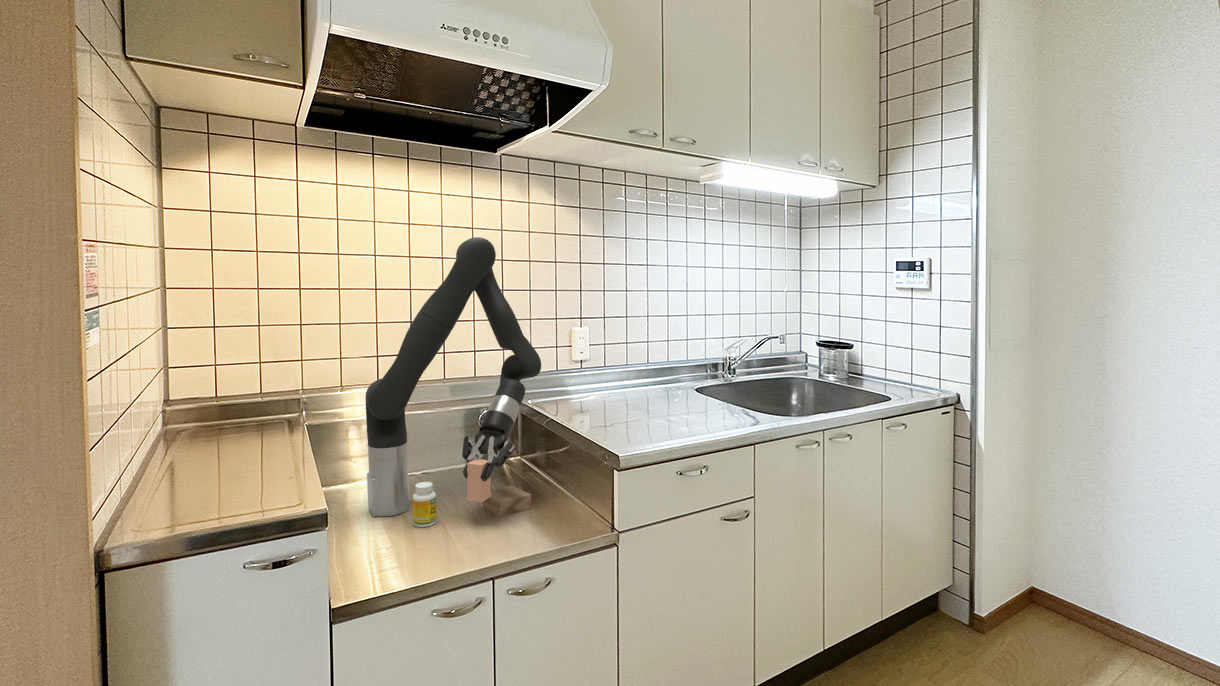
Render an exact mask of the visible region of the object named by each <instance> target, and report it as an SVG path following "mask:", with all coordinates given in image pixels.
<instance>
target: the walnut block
mask: <svg viewBox="0 0 1220 686" xmlns="http://www.w3.org/2000/svg"><path fill="white" fill-rule="evenodd" d="M482 507H483V508H484V509H486V510H488V511H490V512H491V513H493V514H494V515H496V516H497V517H499V518H503V517H506V516H507V517H508V516H510V515H513V514H517V513H520V512H525V511H528V510H531V509H532V494H531V493H529V492H527V491H525V490H523V489H521V488H519V487H518V486H516V485H514V484H511V485H507V486H504V487H500V488H496V489H491V497H489V498H488V499H486V500H485V501H483V502H482Z"/></svg>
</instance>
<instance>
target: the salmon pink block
mask: <svg viewBox="0 0 1220 686" xmlns="http://www.w3.org/2000/svg"><path fill="white" fill-rule="evenodd" d="M487 461H488V459H482V458H479V459H474V460H473V461H471V462H469V463H467V462H466V463H467V478H466V481H467V483H466V487H467V489H466V490H467V491H466V499H467V501H472V502H476V503H477V502H478V503H483V501H485V500H486V499H488V498H489V497H491V490H492V486H491V485H492V482H491V481H492V480H491V477H492V474H491V475H490V478H489V479H487V481H483V480H482V479H481V478H480V476H481V474H482V472H483V469H484V467H485V465H486V463H488V462H487Z"/></svg>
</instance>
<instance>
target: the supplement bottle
mask: <svg viewBox="0 0 1220 686" xmlns="http://www.w3.org/2000/svg"><path fill="white" fill-rule="evenodd" d="M433 489H434V485H433V482H431V481H422V482H421V481H420V482H417V483H416V484H415V485H414V490H415V492H414V494H413V495H412V517H413V520H412V522H413V525H414V526H415V527H417V528H428V527H432V526H433V525H435V524H436V523H437V494H436V492H435V491H434V490H433Z"/></svg>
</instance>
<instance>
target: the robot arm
mask: <svg viewBox="0 0 1220 686" xmlns="http://www.w3.org/2000/svg"><path fill="white" fill-rule="evenodd" d="M496 256H497V253H496V248H495V246H494V245H493V243H492V242H491V241H490V240H489V239H487V238H484V237H471V238H468V239H467V240H464V241H463V242H462V243H460V245H459V246H458V248H457V250H456V252H455V258H456V260H455V261H454V262H453V265H452V267H451V268H450V270H449V273H448V274H447V276H446V278H445V279H444V280H443V282H442V283H441V284H440V285H439V286H438V288H437V289H436V290H434V292H433V293H432V294H431V295H430V296H429V297H428V299H427V300H426V301H425V303H424V304H423V305H422V306H421V308H420V310H419V311H417V314H416V316H415V318H413V320H412V322H411V323H410V325H409V327H408V329H407V331H406V333H405V336H404V339H403V340H402V343H401V346H400V349H399V351H398V353H397V355H396V357H395V359H394V361H393V363H392V364H391V366H390V368H389V369H388V370H387V372H386V373H385V374H384V375H383V377H382V378H379V379H376V380H375V381H373V382H371V384H370V385H369V386H368V388H367V389H366V392H365V417H366V437H367V455H368V472H367V473H366V483H367V485H366V486H367V509H368V511H369V512H370V514H371V515H372V517H373V518H376V517H390V516H391V517H392V516H397V515H400V514H403V513H405V512H406V511H407V510H409V508H410V496H409V495H410V494H409V493H410V491H409V489H410V488H409V461H408V460H409V459H408V456H409V455H408V431H407V424H406V407H407V405H408V404H409V401H410V399H411V397H412V395H413V393H414V391H415V389H416V386H417V385H418V383H419V381H420V379H421V377H422V376H423V373H424V372H425V371H426V369H427V368H428V366H429V365H430V364H431V363H432V361H433V360H434V359H435V357H436V355H437V354H438V352H439V351H440V349H441V348H442V346H443V345H444V344H445V342H446V341H447V339H448V337H449V336H450V334H451V333H452V331H453V329H454V328H455V326H456V324H457V323H458V320H459V319H460V317H461V315H462V313H463V311H464V309H465V307H466V305H467V304H468V303H467V302H468V301H469V299H470V298H471V295H472V294H473V293H474V292H475V294H476V295H477V297H478V300H479V301H480V303H481V306H482V309H483V310H484V313H485V316H486V318H487V320H488V324H489V325H490V327H491V328H490V329H492V333H493V335H494V337H495V340H496V342H497V344H498V346H499V347H500V348H501V349H503V350H509V351H510V352H512V353H513V354H512V355H509V356H508V357H507V358H506V359H505V360H504V361H503V364H502V365H501V366H502V367H501V372H500V379H499V386H498V388H497V389H496V392H495V395H494V397H493V399H492V400H491V402H490V403H489V406H488V408H487V409H486V413H485V415H484V417H483V419H482V422H481V424H480V427H479V431H478V432H477V434H475V436H471V437H469V436H468V435H466V436H464V438H463V444H462V453H461V457H462V458H463V459H464V461H465V462H466V463H465V465H464V468H463V471H462V475H463V477H464V478H465V479H467V463H469V462H471V461H473V460H474V459H482V457H483V456H484V455H488V456H487V460H488V461H487V462H488V463H486V465H485V467H484V469H483V472H482V474H481V476H480V478H481V479H482V480H483V481H487V479H489V478H490V475H491V476H492V473H493V470H494V468H496V467H503V466H504V465H505V464H506V462H507V460H509V458H510V456H511V455H513V453H514V452H515V450H516V446H515V445H514V443H513V442H512V441H508V438H509V437H510V435H511V433H512V429H513V427H514V425H515V422H516V420H517V417H518V414H519V411H520V408H521V405H522V402H523V400H524V397H525V395H526V387H525V385H524V384H523V383H522V382H521V380H526V379H530V378H535V377H537V376H538V375H539V374H540V373H541V371H542V360H541V358H540V355H539V353H538V352H537V349H535V348H534V346H533V345H532V344H531V343H530V341H529V340H528V339H527V338H526V336H525V334H524V333H523V331H522V328H521V326H520V323H519V321H518V319H517V317H516V315H515V312H514V310H513V309H512V307H511V305H510V304H509V302H508V300H507V299H506V297H505V295H504V294H503V292H502V290H501V287H500V286H499V283H498V281H497V279H496V276H495V273H494V270H493V269H494V268H493V266H494V264H495V261H496Z"/></svg>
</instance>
